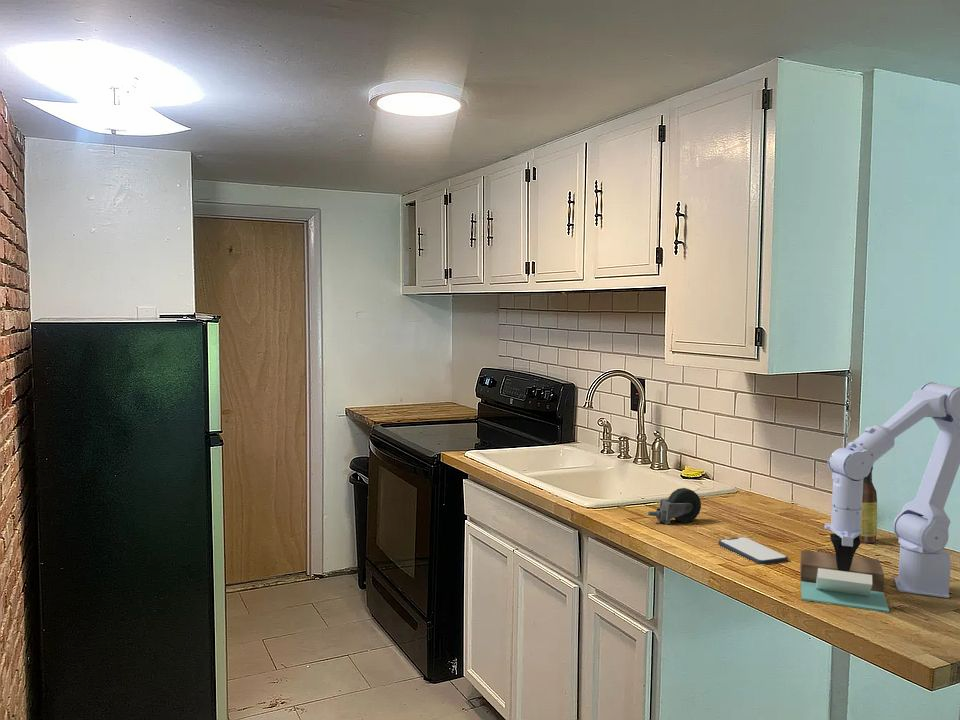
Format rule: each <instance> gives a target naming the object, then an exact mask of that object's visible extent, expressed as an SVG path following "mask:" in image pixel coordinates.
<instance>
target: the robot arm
mask: <svg viewBox="0 0 960 720" xmlns="http://www.w3.org/2000/svg"><path fill="white" fill-rule="evenodd" d="M925 418H930V419H932V420H933V421H934V422H935V425H936V426H937V428H938V429H939V432H938V435H937V438H936V441H935V443H934V446H933V449H932V451H931V455H930V457H929V459H928V463H927V464H926V465H927V466H926V468H925V470H924V472H923V477H922V479H921V482H920V485H919V487H918V490H917V492H916V496H915V498H914V499H912V500H910V501H908V502H907V503H905V504H903V505H902V506H903V507H902V510H901V511H900V512H899V513H898V514H897V516H896V517H895V519H894V520H893V523H892V530H893V533H894V536H896V538H897V539H898V544H899V555H898V557H899V558H898V576H896V577H893V582H894V583H895V587H896V589H897V591H898V592H901V593H908V594H909V593H910V594H916V595H923V596H931V597H939V598H947V599H949V598H950V583H951V582H950V581H951V570H952V568H951V567H952V565H951V563H952V562H951V554H950V552H949V551H947V550H944V548H945V547H946V546H947V543H948V541H949V527H950V524H951V520H950V518H949V516H948V515H947V513H946V511H945V509H944V508H945V506H946V504H947V503H946V502H947V500H948V498H949V496H950V492H951V489H952V487H953V484H954V481H955V478H956V476H957V473H958V470H959V467H960V386H955V385H954V386H953V385H948V384H942V383H941V384H940V383H937V382H933V381H931V382H925V383H924V384H922V385H921V386H920V387H919V388H918V389H916V390H914V391H913V393H912V396H911V398H910V399H909V401H907V402H906V403H905V404H903V406H902V407H901V408H900V409H899V410H898V411H897V412H895V413H893V415H892V416H891V417H890V418H889V419H888V420H886V421H885V422H884V423H883V424H882V425H872V426H866V427H865V428H864V430H863V431H864V432H863V433H862V434H860V435H859V436H858V437H857V438H856V439H855V438H854V440H853V441H850V442H848V443H847V445H846V447H842V448H841V447H838V448H837V449H835V450H834V451H833V452H832V454H831V455H830V456H829V459H827V468H828V469H829V470H830V472H831V479H832V489H831V490H832V492H831V494H832V495H831V514H830V523H824V526H823V527H824V530H828V531H831V532H833V533H829V538H830V541H831V543H832V545H833V548H834V552H835V553H834V554H836V562H837V568H838V570H839V571H846V572H849V570H850V567H851V564H852V560H853V556H855V554H856V551H857V550H858V549H859V547H860V545H861V542H860V538H859V536H858V535H860V534H861V533H862V529H861V516H862V497H863V478H864V477H867V476H868V475H869V473H870V471H871V467H872V465H873V466H874V464H875V462H876V461H878V460H879V459H880V458H881V457H884V455H885V454H886V453H888V452H889V451H890V450H891V449H892V448H894V447H895V442H896V441H895V439H896V438H897V437H899V436H900V435H901V434H904V433H905V432H906V431H907V430H909V429H910V428H912V427H913V426H914V425H916V424H917V423H919V422H921V420H923V419H925Z"/></svg>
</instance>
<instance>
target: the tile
mask: <svg viewBox="0 0 960 720" xmlns="http://www.w3.org/2000/svg"><path fill="white" fill-rule="evenodd" d="M871 588H872V575H868V574H860V573H853V572H845V571H837V570H830V569H822V568H818V572H817V579H816V589H820V590H827V591H834V592H841V593H848V594H855V595H863V596H869V594H870V591H871Z"/></svg>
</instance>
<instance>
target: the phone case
mask: <svg viewBox="0 0 960 720" xmlns="http://www.w3.org/2000/svg"><path fill="white" fill-rule="evenodd" d="M719 545H720V546H719ZM718 546H719V547H721V546H722V547H721V548H723V547H724V548H723V549H725V548H726V549H725V550H727V549H728V550H727V551H729V550H730V551H729V552H731V551H732V552H731V553H733V552H735V553H737V554H739V555H738V556H740V555H741V556H740V557H742V556H743V557H742V558H744V557H745V559H746V558H747V559H746V560H748V559H749V560H748V561H750V560H752V561H754V562H753V563H755V562H756V563H755V564H757V563H758V564H757V565H760V564H767V565H773V564H772V563H775V564H779V563H778V562H782V563H786V562H785V561H787V562H788V560H789V557H788V556H787V555H785V554H783V553H781V552H779V551H777V550H774V549H772V548H770V547H768V546H766V545H763V544H761V543H759V542H757V541H754V540H753V539H750V538H749V537H744V536H739V537H731V538H724V539H723V538H722V539H719V540H718ZM735 553H734V554H735ZM737 554H736V555H737ZM752 561H751V562H752Z"/></svg>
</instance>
